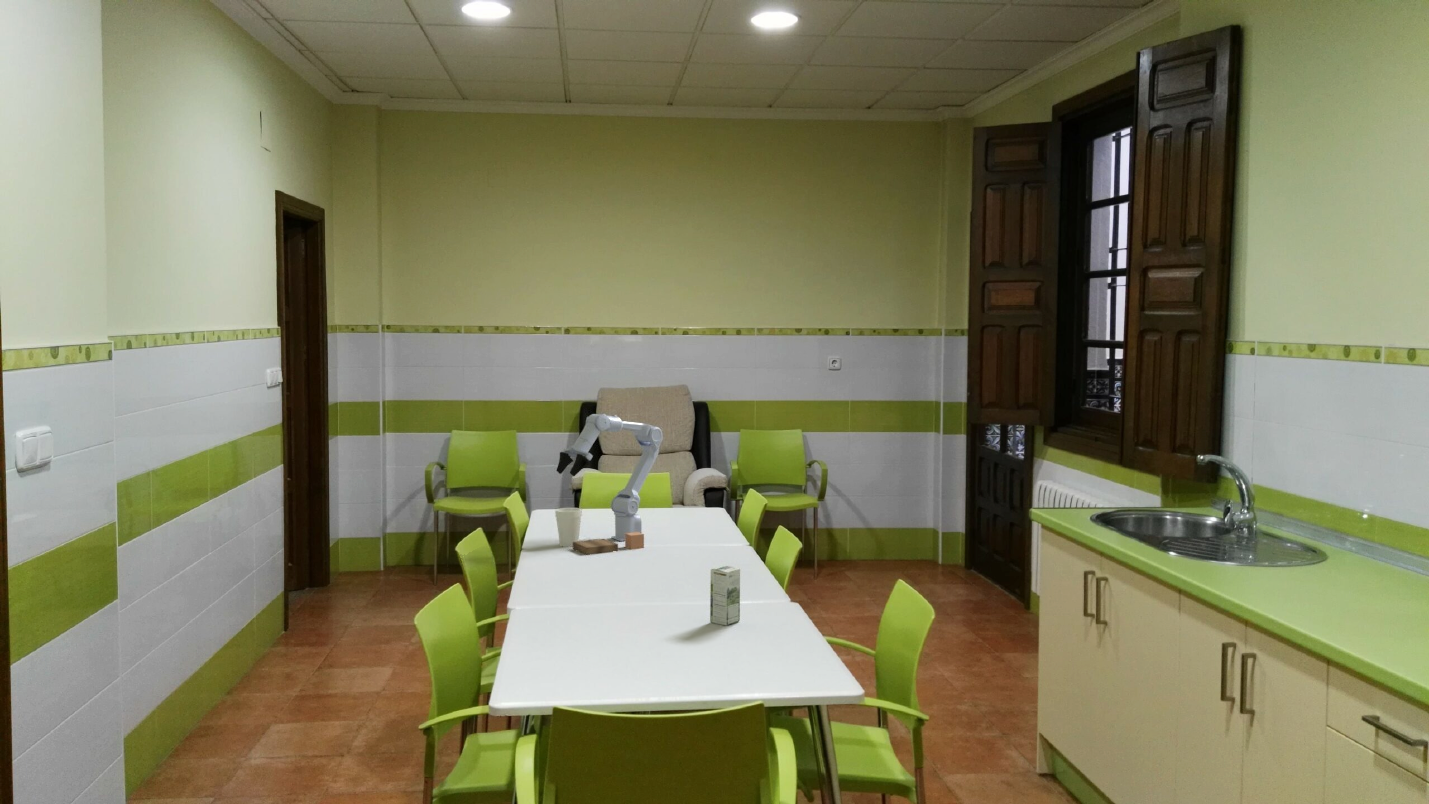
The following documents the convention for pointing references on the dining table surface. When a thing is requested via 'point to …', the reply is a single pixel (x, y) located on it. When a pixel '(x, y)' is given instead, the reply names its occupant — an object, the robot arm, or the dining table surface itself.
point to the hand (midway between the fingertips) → (565, 473)
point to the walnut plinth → (595, 546)
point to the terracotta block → (634, 540)
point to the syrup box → (725, 595)
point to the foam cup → (568, 525)
